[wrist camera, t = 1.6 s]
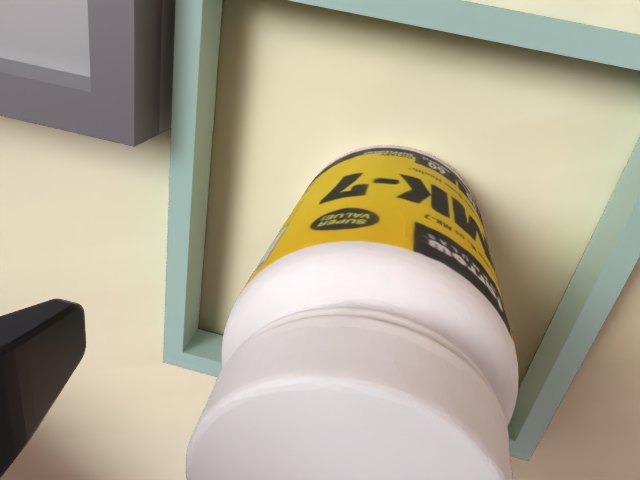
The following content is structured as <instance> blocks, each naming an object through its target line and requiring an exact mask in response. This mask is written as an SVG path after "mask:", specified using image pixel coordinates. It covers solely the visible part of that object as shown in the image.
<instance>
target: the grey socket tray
mask: <svg viewBox="0 0 640 480" xmlns="http://www.w3.org/2000/svg"><path fill="white" fill-rule="evenodd" d="M175 5H176V0H0V115H1V116H5V117H9V118H14V119H18V120H22V121H27V122H31V123H35V124H40V125H44V126H48V127H53V128H57V129H61V130H65V131H70V132H74V133H78V134H83V135H87V136H91V137H96V138H100V139H104V140H109V141H113V142H117V143H122V144H126V145H130V146H136V145H138V144H140V143H142V142H144V141H146V140H148V139H150V138H152V137H154V136H156V135H158V134H160V133H162V132H164V131H166V130H168V129H170V128H171V121H172V92H173V63H174V34H175Z"/></svg>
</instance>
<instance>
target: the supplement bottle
mask: <svg viewBox="0 0 640 480" xmlns="http://www.w3.org/2000/svg"><path fill="white" fill-rule="evenodd" d="M517 394H518V360H517V354H516V348H515V343H514V339H513V336H512V332H511V329H510V326H509V322H508V318H507V315H506V311H505V307H504V304H503V300H502V297H501V293H500V289H499V285H498V282H497V278H496V274H495V270H494V266H493V263H492V260H491V256H490V251H489V248H488V244H487V240H486V236H485V232H484V229H483V223H482V219H481V216H480V213H479V211H478V208H477V205H476V203H475V200H474V198H473V196H472V194H471V192H470V190H469V189H468V187H467V186H466V184H465V183H464V182H463V180H462V179H461V178H460V177H459V176H458V174H457V173H456V172H455V171H453V170H452V169H451V168H450V167H449V166H448V165H446V164H445V163H443V162H442V161H441V160H439V159H437V158H436V157H434V156H432V155H430V154H427V153H425V152H422V151H419V150H416V149H413V148H408V147H403V146H395V145H378V146H370V147H364V148H360V149H357V150H354V151H351V152H349V153H347V154H345V155H343V156H341V157H339V158H337V159H336V160H334V161H333V162H331V163H330V164H329V165H327V166H326V167H325V168H324V169H323V170H322V171H321V172H320V173H319V174H318V175H317V176H316V177H315V179H314V180H313V181H312V182H311V184H310V185H309V187H308V188H307V190H306V191H305V192H304V194H303V196H302V197H301V199H300V201H299V202H298V203H297V205H296V207H295V208H294V210H293V211H292V213H291V214H290V216H289V218H288V219H287V221H286V222H285V224H284V225H283V227H282V228H281V230H280V232H279V233H278V235H277V237H276V238H275V240H274V241H273V243H272V244H271V246H270V247H269V249H268V251H267V252H266V254H265V255H264V257H263V258H262V260H261V262H260V263H259V265H258V267H257V268H256V270H255V271H254V273H253V274H252V275H251V277H250V279H249V280H248V282H247V283H246V285H245V287H244V288H243V290H242V291H241V293H240V295H239V296H238V298H237V300H236V302H235V304H234V306H233V308H232V310H231V313H230V315H229V318H228V321H227V324H226V327H225V331H224V335H223V341H222V370H221V372H220V374H219V376H218V378H217V380H216V383H215V386H214V388H213V391H212V393H211V395H210V398H209V400H208V402H207V404H206V406H205V408H204V410H203V412H202V414H201V416H200V418H199V420H198V422H197V424H196V427H195V429H194V431H193V434H192V436H191V439H190V442H189V445H188V449H187V456H186V478H187V480H513V476H512V468H511V461H510V454H509V435H508V428H507V426H508V424H509V422H510V420H511V418H512V414H513V411H514V408H515V404H516V399H517Z"/></svg>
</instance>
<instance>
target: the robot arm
mask: <svg viewBox="0 0 640 480" xmlns="http://www.w3.org/2000/svg"><path fill="white" fill-rule="evenodd" d="M85 348H86V333H85V315H84V309H83V307H82V306H81V305H80V304H78V303H74V302H71V301H67V300H63V299H52V300H49V301H46V302H43V303H40V304H37V305H34V306H31V307H28V308H25V309H21V310H18V311H15V312H12V313H9V314H6V315H3V316H0V478H1V476H2V475H3V474H4V473H5V471H6V470H7V469H8V468H9V466H10V465H11V464H12V463H13V461H14V460H15V459H16V457H17V456H18V455H19V453H20V452H21V451H22V449H23V448H24V447H25V446H26V444H27V443H28V441H29V440H30V438H31V437H32V436H33V434H34V433H35V431H36V430H37V428H38V427H39V425H40V423H41V422H42V420H43V419H44V417H45V416H46V414H47V413H48V411H49V409H50V408H51V406H52V405H53V403H54V402H55V400H56V398H57V397H58V395H59V394H60V392H61V391H62V389H63V388H64V386H65V384H66V383H67V381H68V380H69V378H70V377H71V375H72V373H73V372H74V370H75V369H76V367H77V366H78V364H79V363H80V361H81V359H82V357H83V355H84V352H85Z"/></svg>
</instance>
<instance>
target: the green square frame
mask: <svg viewBox="0 0 640 480" xmlns="http://www.w3.org/2000/svg"><path fill="white" fill-rule="evenodd" d="M289 1H294V2H299V3H304V4H309V5H314V6H319V7H324V8H329V9H334V10H339V11H344V12H349V13H354V14H359V15H364V16H369V17H374V18H379V19H384V20H389V21H394V22H399V23H404V24H409V25H414V26H419V27H424V28H429V29H434V30H439V31H444V32H449V33H454V34H459V35H464V36H469V37H474V38H479V39H484V40H489V41H494V42H499V43H504V44H509V45H514V46H519V47H524V48H529V49H534V50H539V51H544V52H549V53H554V54H559V55H564V56H569V57H574V58H579V59H584V60H589V61H594V62H599V63H604V64H609V65H614V66H619V67H624V68H629V69H634V70H639V71H640V35H637V34H632V33H627V32H622V31H617V30H612V29H606V28H601V27H596V26H591V25H586V24H581V23H576V22H570V21H565V20H560V19H555V18H550V17H545V16H539V15H534V14H529V13H524V12H519V11H514V10H509V9H503V8H498V7H493V6H488V5H483V4H478V3H473V2H467V1H462V0H289ZM222 3H223V0H176V5H175V34H174V63H173V92H172V121H171V149H170V178H169V207H168V236H167V265H166V294H165V323H164V352H163V363H167V364H171V365H174V366H178V367H182V368H186V369H189V370H193V371H197V372H200V373H204V374H208V375H212V376H215V377H218V376H219V374H220V372H221V370H222V341H223V335H219V334H216V333H212V332H208V331H204V330H200V329H198V326H199V312H200V299H201V286H202V272H203V259H204V245H205V232H206V218H207V205H208V191H209V178H210V164H211V151H212V137H213V124H214V110H215V97H216V84H217V70H218V57H219V43H220V30H221V16H222ZM639 257H640V138H639V140H638V142H637V144H636V146H635V148H634V150H633V153H632V155H631V157H630V159H629V161H628V163H627V165H626V167H625V169H624V171H623V173H622V175H621V178H620V180H619V182H618V184H617V186H616V188H615V190H614V192H613V194H612V196H611V198H610V200H609V202H608V205H607V207H606V209H605V211H604V213H603V215H602V217H601V219H600V221H599V223H598V225H597V227H596V229H595V232H594V234H593V236H592V238H591V240H590V242H589V244H588V246H587V248H586V250H585V252H584V254H583V256H582V259H581V261H580V263H579V265H578V267H577V269H576V271H575V273H574V275H573V277H572V279H571V281H570V283H569V286H568V288H567V290H566V292H565V294H564V296H563V298H562V300H561V302H560V304H559V306H558V308H557V310H556V313H555V315H554V317H553V319H552V321H551V323H550V325H549V327H548V329H547V331H546V333H545V335H544V337H543V340H542V342H541V344H540V346H539V348H538V350H537V352H536V354H535V356H534V358H533V360H532V362H531V364H530V367H529V369H528V371H527V373H526V375H525V377H524V379H523V381H522V383H521V385H520V387H519V389H518V394H517V399H516V404H515V408H514V411H513V414H512V418H511V420H510V422H509V424H508V426H507V428H508V435H509V454H510V456H513V457H516V458H520V459H524V460H527V461H529V460H530V458H531V456H532V454H533V452H534V450H535V449H536V447H537V445H538V443H539V441H540V439H541V438H542V436H543V434H544V432H545V430H546V428H547V426H548V425H549V423H550V421H551V419H552V417H553V415H554V414H555V412H556V410H557V408H558V406H559V404H560V403H561V401H562V399H563V397H564V395H565V393H566V391H567V390H568V388H569V386H570V384H571V382H572V380H573V379H574V377H575V375H576V373H577V371H578V369H579V368H580V366H581V364H582V362H583V360H584V358H585V356H586V355H587V353H588V351H589V349H590V347H591V345H592V344H593V342H594V340H595V338H596V336H597V334H598V333H599V331H600V329H601V327H602V325H603V323H604V321H605V320H606V318H607V316H608V314H609V312H610V310H611V309H612V307H613V305H614V303H615V301H616V299H617V298H618V296H619V294H620V292H621V290H622V288H623V286H624V285H625V283H626V281H627V279H628V277H629V275H630V274H631V272H632V270H633V268H634V266H635V264H636V263H637V261H638V259H639Z"/></svg>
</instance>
